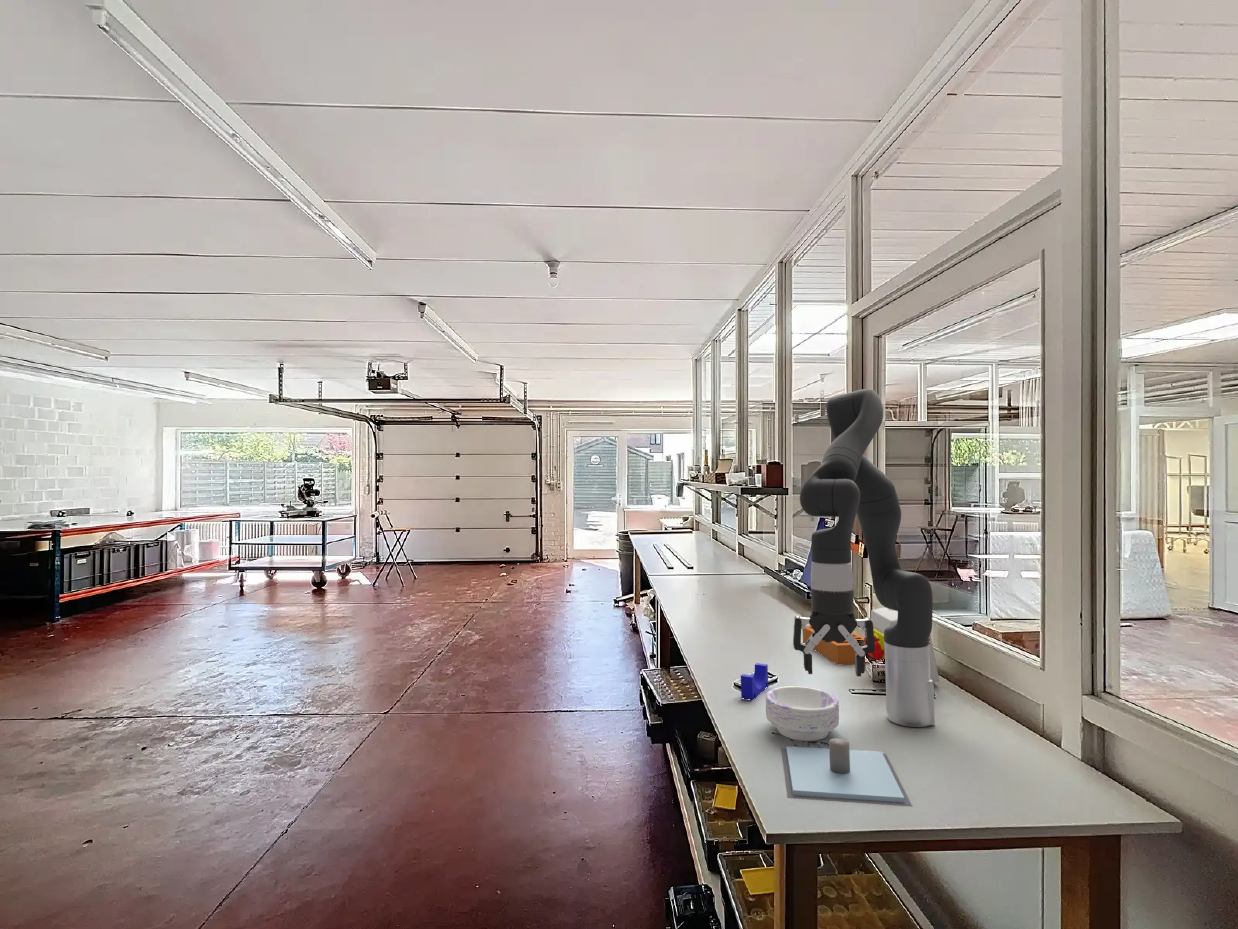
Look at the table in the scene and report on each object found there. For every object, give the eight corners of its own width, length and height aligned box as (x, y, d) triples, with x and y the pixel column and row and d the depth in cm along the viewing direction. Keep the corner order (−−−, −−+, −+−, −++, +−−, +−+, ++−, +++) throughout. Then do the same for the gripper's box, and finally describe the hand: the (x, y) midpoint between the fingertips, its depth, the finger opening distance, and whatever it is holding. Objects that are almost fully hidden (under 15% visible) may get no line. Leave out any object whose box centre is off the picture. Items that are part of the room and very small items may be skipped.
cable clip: (752, 684, 169) (751, 662, 169) (768, 687, 167) (767, 664, 167) (735, 698, 159) (734, 675, 159) (752, 701, 157) (752, 677, 157)
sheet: (881, 755, 123) (880, 725, 123) (904, 802, 105) (903, 767, 106) (786, 750, 127) (785, 721, 127) (793, 795, 109) (792, 761, 109)
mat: (886, 756, 124) (886, 753, 124) (912, 809, 104) (912, 806, 104) (781, 750, 128) (781, 748, 128) (787, 800, 108) (787, 797, 108)
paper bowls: (855, 740, 132) (854, 702, 132) (795, 754, 126) (794, 714, 126) (808, 715, 146) (807, 681, 146) (752, 727, 140) (751, 691, 141)
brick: (802, 644, 209) (801, 626, 209) (836, 642, 210) (836, 624, 210) (837, 666, 184) (837, 645, 184) (876, 663, 186) (875, 643, 186)
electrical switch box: (863, 678, 178) (849, 608, 178) (915, 669, 177) (902, 599, 178) (883, 696, 163) (868, 620, 164) (940, 686, 163) (925, 610, 163)
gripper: (869, 584, 119) (871, 670, 119) (791, 582, 123) (792, 666, 122) (876, 590, 112) (878, 682, 112) (793, 588, 115) (795, 678, 115)
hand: (833, 674), depth 117 cm, fingers open, 8 cm apart
